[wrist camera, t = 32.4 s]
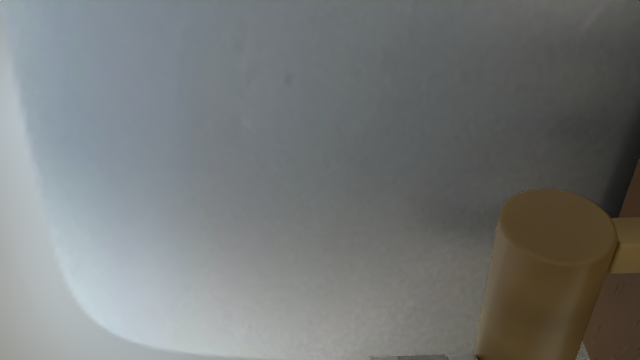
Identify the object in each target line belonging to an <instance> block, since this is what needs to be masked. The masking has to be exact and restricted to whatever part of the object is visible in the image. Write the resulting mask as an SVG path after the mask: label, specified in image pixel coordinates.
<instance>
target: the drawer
mask: <svg viewBox="0 0 640 360" xmlns="http://www.w3.org/2000/svg"><path fill="white" fill-rule="evenodd" d="M582 340H583V343H584V345H585V348H586V350H587V353H588V355H589V358H590V360H640V157H639V160H638V163H637V165H636V168H635V171H634V174H633V177H632V180H631V183H630V185H629V188H628V191H627V194H626V197H625V200H624V202H623V205H622V208H621V211H620V214H619V217H618V218H611V217H610V216H609V215H608V214H607V213H606V212H605V211H604V210H603V209H602V208H601V207H599V206H598V205H597V204H595V203H594V202H592V201H590V200H589V199H587V198H585V197H582V196H580V195H577V194H574V193H571V192H568V191H564V190H558V189H545V188H541V189H532V190H527V191H523V192H521V193H518V194H516V195H514V196H512V197H511V198H510V199H509V200H508V201H507V202H506V203H505V204H504V205H503V206H502V208H501V210H500V212H499V216H498V221H497V227H496V232H495V237H494V243H493V248H492V253H491V259H490V264H489V269H488V275H487V280H486V285H485V291H484V296H483V301H482V306H481V312H480V317H479V322H478V328H477V333H476V338H475V344H474V349H473V354H474V355H475V356H476V357H477V359H478V360H575V359H576V356H577V353H578V351H579V348H580V345H581V342H582Z"/></svg>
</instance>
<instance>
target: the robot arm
mask: <svg viewBox="0 0 640 360" xmlns="http://www.w3.org/2000/svg"><path fill="white" fill-rule="evenodd" d="M369 360H478V359H477V357H476V356H475V355H474V354H470V355H445V354H443V355H414V356H370V357H369Z"/></svg>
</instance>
